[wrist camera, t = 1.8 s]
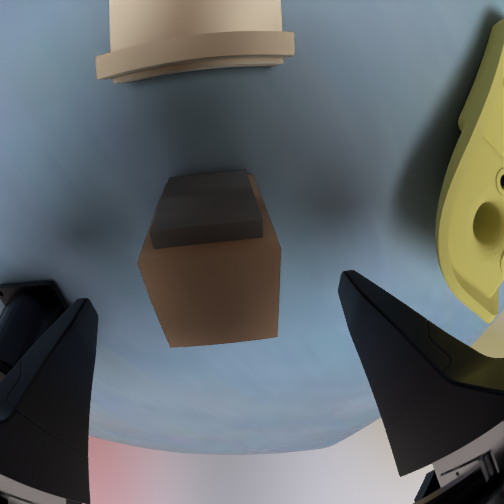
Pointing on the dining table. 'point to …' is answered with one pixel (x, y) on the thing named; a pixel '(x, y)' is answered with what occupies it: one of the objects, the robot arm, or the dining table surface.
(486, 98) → the plastic component
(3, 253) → the dining table surface
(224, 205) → the walnut finger
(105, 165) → the dining table surface
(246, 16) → the rail
